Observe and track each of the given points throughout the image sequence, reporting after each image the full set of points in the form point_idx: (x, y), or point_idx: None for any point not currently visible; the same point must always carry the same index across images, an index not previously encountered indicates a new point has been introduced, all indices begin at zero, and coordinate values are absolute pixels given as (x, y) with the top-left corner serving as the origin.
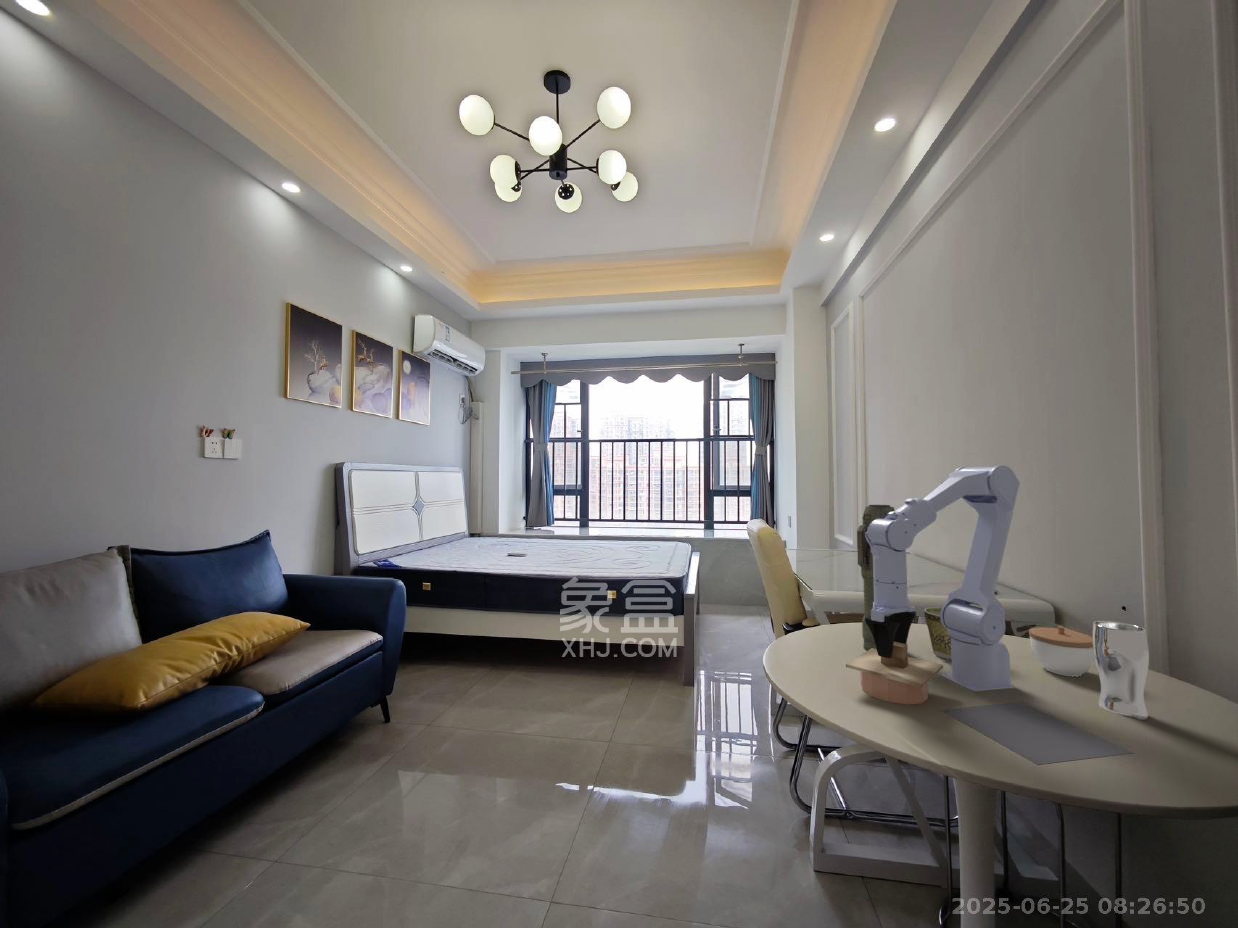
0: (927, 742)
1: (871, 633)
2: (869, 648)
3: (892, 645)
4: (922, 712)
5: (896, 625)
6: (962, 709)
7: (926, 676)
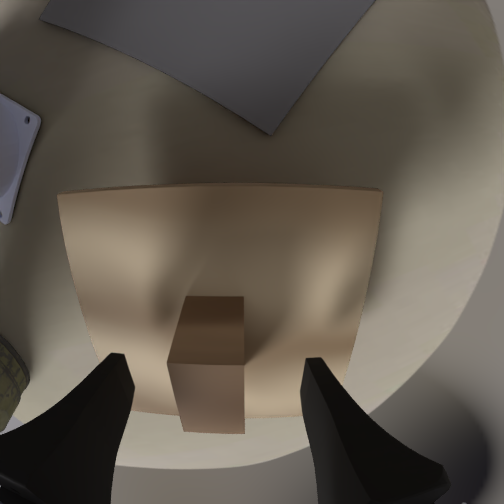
0: (464, 137)
1: (10, 404)
2: (25, 381)
3: (340, 397)
4: (308, 177)
5: (440, 481)
6: (212, 86)
7: (271, 199)
